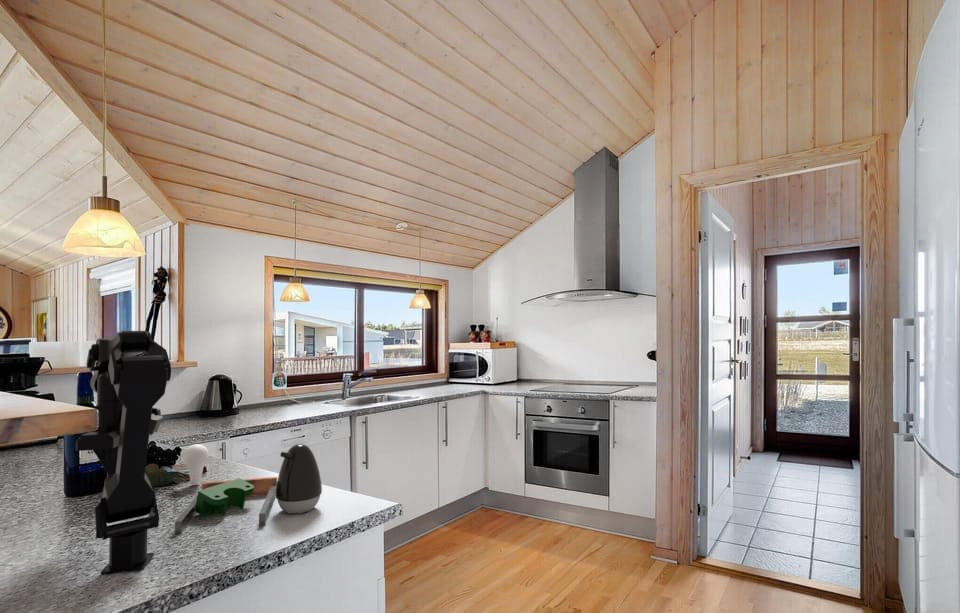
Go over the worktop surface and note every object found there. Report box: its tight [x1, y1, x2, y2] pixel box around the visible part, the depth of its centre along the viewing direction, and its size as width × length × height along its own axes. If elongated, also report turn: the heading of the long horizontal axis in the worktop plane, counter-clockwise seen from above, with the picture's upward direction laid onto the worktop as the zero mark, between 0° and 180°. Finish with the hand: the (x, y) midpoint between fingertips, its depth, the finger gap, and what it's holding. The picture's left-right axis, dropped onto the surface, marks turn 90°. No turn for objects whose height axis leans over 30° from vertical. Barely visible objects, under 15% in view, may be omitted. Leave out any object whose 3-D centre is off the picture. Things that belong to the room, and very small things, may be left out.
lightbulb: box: [182, 443, 209, 486], centre depth 144 cm, size 6×6×11 cm
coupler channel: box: [174, 476, 278, 535], centre depth 124 cm, size 24×17×4 cm
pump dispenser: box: [275, 443, 323, 515], centre depth 124 cm, size 10×10×15 cm
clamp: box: [195, 477, 254, 517], centre depth 124 cm, size 12×6×9 cm, turn 149°
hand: (112, 476), depth 108 cm, fingers closed
